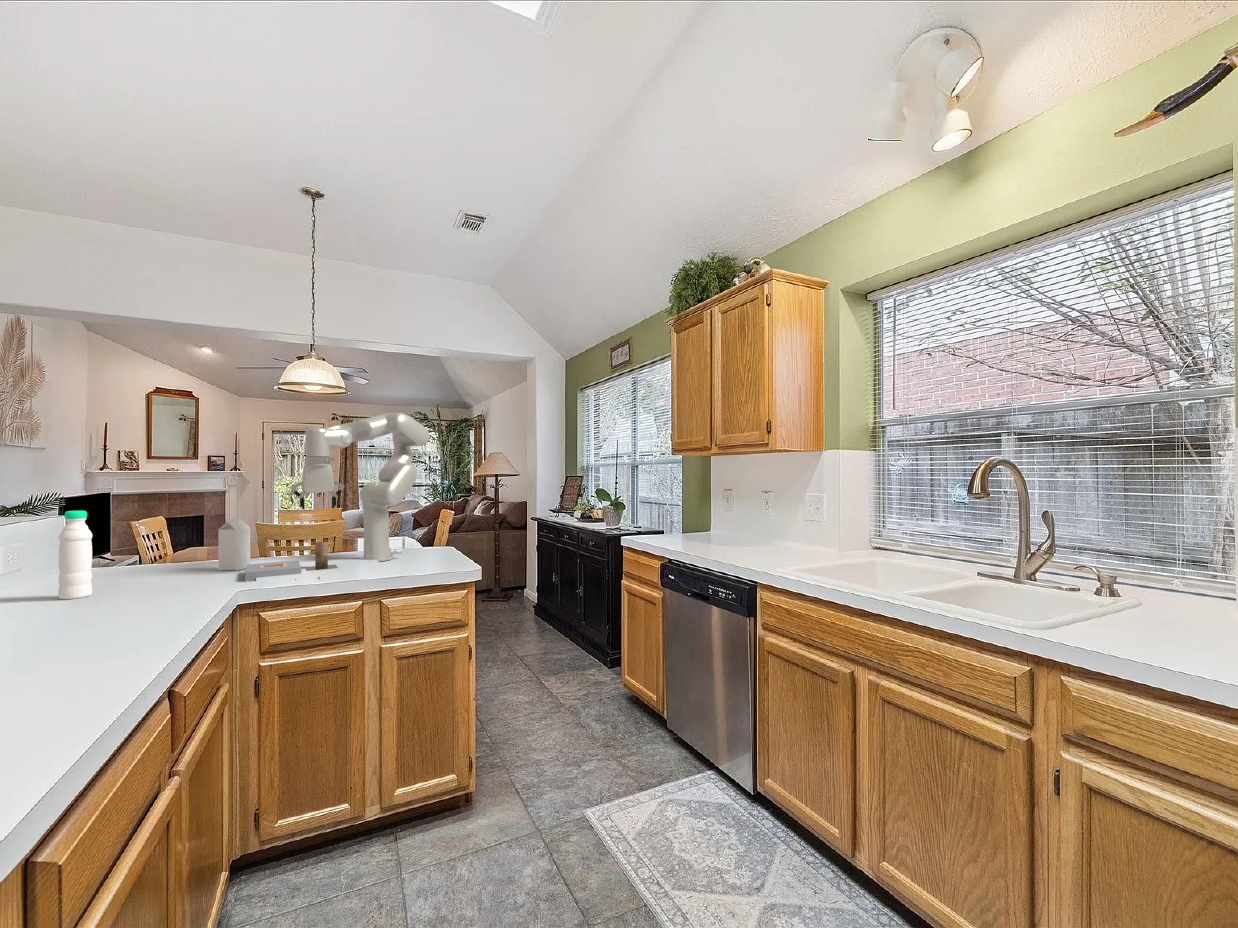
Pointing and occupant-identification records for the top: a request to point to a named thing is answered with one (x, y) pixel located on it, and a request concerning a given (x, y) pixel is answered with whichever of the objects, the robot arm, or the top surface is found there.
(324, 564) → the peg
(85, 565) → the milk bottle
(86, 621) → the top surface
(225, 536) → the milk carton
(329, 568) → the tongue
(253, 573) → the hole plate
